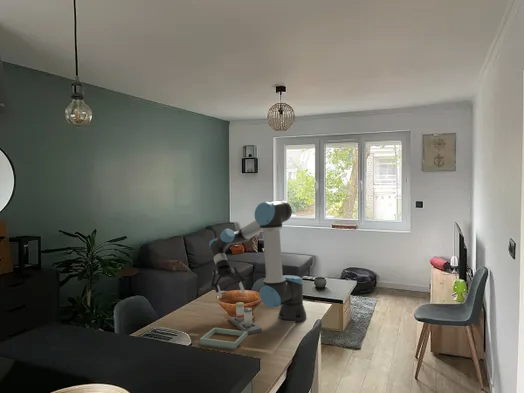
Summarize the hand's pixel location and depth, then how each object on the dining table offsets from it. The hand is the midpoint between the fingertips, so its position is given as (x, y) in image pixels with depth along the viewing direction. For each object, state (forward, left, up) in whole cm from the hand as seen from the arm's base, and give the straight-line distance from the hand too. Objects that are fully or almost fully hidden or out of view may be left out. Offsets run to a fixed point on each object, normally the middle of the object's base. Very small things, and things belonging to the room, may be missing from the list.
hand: (232, 295), depth 213 cm
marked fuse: (-7, +6, -12) cm, 15 cm away
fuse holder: (-10, +9, -13) cm, 19 cm away
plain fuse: (-14, +12, -12) cm, 22 cm away
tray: (-8, +28, -13) cm, 32 cm away
